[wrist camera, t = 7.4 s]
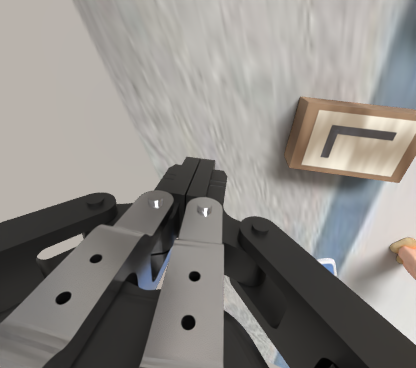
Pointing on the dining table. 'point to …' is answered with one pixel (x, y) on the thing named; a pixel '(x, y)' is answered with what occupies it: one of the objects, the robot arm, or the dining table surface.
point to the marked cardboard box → (352, 139)
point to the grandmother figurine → (406, 254)
